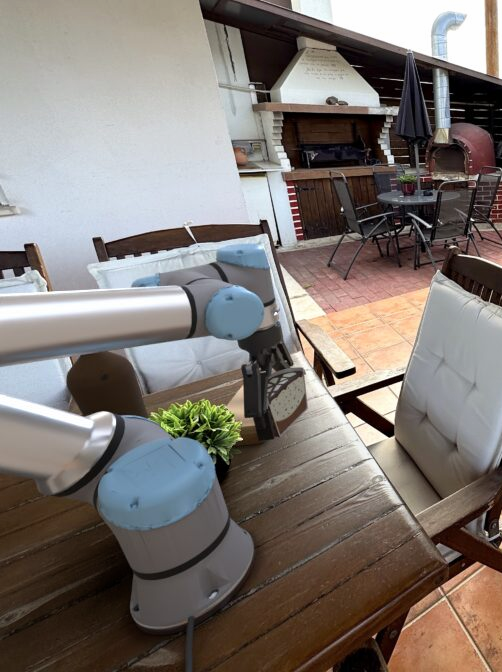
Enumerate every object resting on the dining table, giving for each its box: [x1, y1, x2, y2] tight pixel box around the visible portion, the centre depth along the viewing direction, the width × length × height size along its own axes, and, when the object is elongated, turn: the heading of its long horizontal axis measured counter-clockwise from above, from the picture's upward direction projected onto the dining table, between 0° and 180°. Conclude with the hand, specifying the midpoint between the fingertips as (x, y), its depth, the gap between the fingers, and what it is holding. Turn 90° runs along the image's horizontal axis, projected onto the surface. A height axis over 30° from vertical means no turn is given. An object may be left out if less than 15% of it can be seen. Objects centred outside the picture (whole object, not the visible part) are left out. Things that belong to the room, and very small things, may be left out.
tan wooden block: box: [225, 385, 266, 447], centre depth 97 cm, size 18×11×5 cm, turn 10°
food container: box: [266, 366, 309, 438], centre depth 83 cm, size 12×6×10 cm, turn 173°
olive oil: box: [65, 351, 150, 419], centre depth 90 cm, size 11×11×25 cm
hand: (278, 418), depth 84 cm, fingers closed on food container, 12 cm apart
